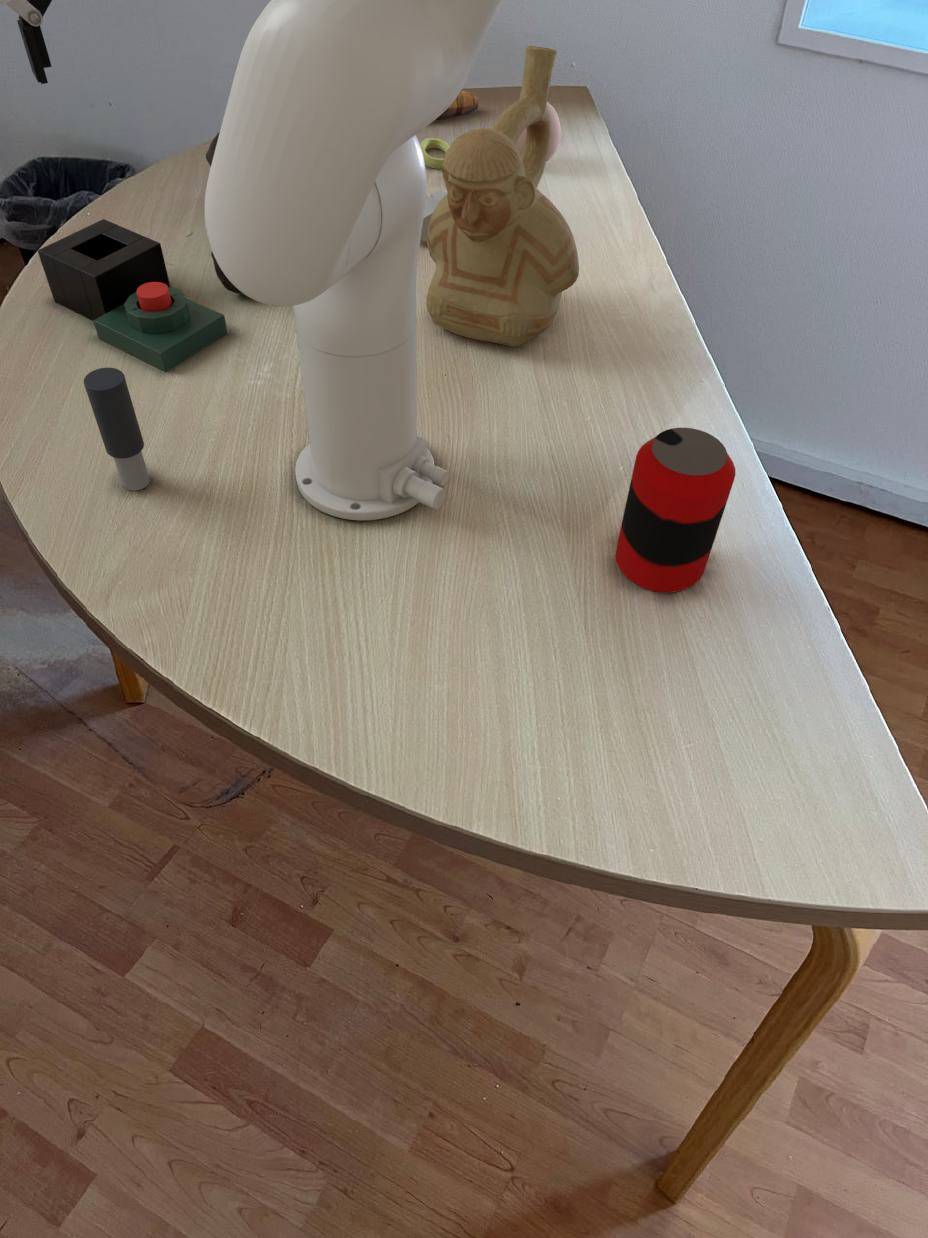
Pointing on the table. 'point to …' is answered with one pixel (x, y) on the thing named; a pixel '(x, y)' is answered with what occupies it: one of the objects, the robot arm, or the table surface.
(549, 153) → the egg
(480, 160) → the ceramic vessel
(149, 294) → the power button
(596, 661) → the table surface
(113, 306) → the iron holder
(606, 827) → the table surface
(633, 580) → the soda can
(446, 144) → the yellow-green curved piece
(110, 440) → the soldering iron
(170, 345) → the station
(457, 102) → the croissant
